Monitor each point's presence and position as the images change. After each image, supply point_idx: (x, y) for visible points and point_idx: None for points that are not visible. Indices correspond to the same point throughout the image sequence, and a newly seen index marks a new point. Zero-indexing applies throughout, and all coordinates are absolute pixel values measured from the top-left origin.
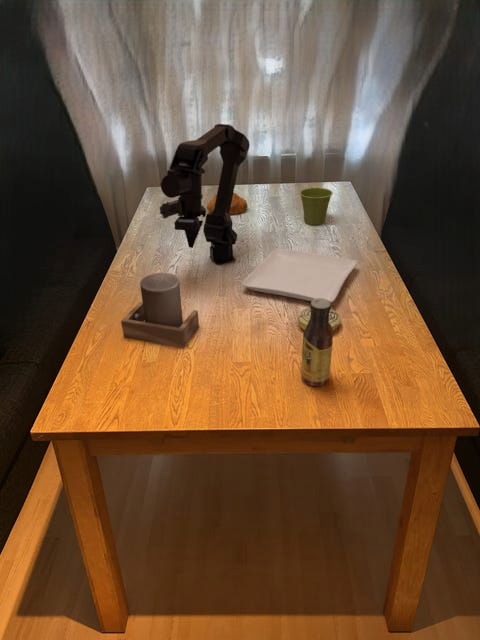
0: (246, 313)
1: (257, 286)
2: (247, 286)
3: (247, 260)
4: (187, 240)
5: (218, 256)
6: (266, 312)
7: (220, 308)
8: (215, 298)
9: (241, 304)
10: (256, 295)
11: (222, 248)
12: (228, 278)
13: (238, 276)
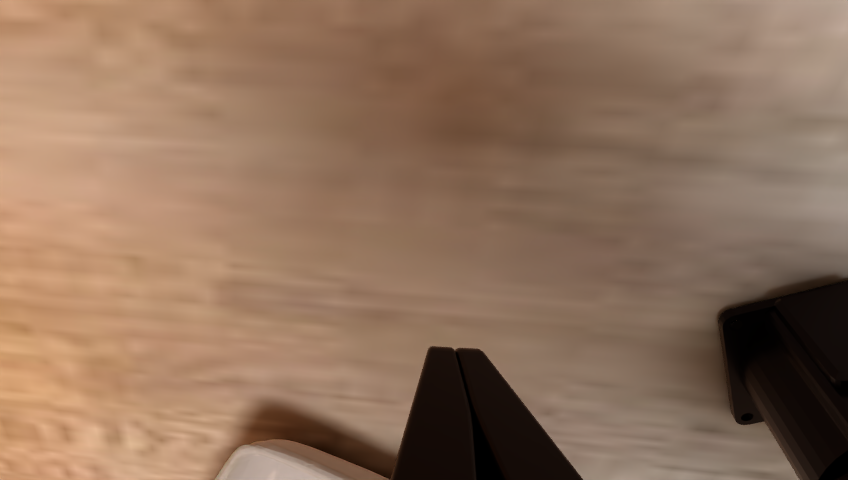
0: (32, 388)
1: (313, 476)
2: (223, 466)
3: (706, 467)
4: (400, 455)
5: (783, 360)
6: (64, 461)
7: (59, 274)
8: (191, 256)
9: (129, 379)
10: None
11: (800, 448)
12: None
13: None
